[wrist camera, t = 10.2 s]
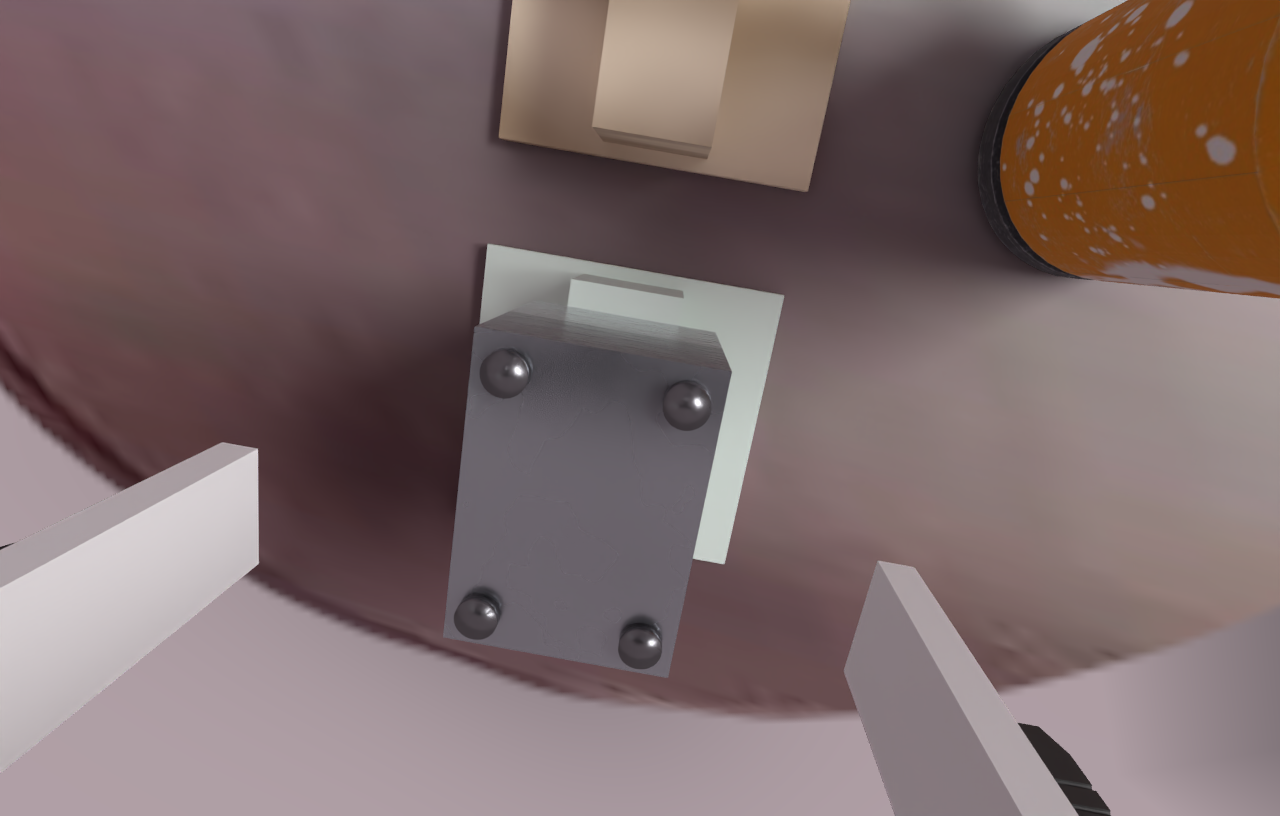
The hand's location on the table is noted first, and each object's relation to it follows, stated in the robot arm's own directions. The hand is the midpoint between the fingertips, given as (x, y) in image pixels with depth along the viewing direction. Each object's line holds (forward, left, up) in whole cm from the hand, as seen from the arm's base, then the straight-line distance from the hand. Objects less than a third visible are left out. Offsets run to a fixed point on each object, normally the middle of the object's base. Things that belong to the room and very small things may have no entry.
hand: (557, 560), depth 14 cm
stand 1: (-15, 0, -15) cm, 21 cm away
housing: (0, 0, -11) cm, 11 cm away
